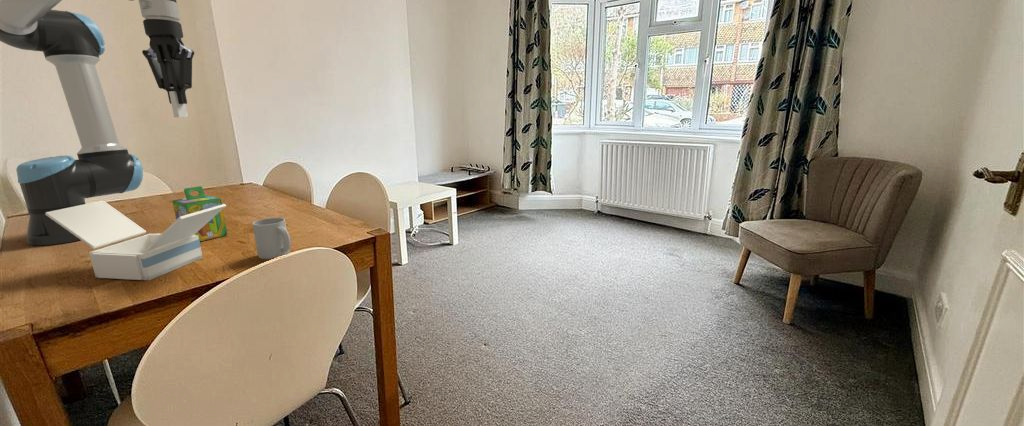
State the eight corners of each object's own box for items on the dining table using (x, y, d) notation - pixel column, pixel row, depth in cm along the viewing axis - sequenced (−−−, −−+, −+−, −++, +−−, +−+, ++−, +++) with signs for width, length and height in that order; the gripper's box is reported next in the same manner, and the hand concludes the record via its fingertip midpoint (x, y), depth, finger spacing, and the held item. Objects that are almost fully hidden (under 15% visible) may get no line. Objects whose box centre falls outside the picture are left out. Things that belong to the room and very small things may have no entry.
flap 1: (93, 248, 95) (45, 214, 95) (145, 233, 107) (102, 202, 106) (94, 246, 95) (45, 212, 95) (146, 231, 107) (103, 200, 106)
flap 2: (144, 249, 93) (179, 216, 90) (192, 233, 105) (224, 203, 101) (146, 251, 93) (181, 219, 90) (193, 234, 105) (226, 205, 101)
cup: (277, 248, 114) (272, 216, 112) (303, 253, 110) (299, 220, 108) (251, 257, 108) (245, 223, 105) (278, 262, 103) (273, 227, 101)
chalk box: (193, 244, 118) (182, 192, 115) (178, 239, 123) (167, 188, 120) (229, 235, 126) (220, 186, 122) (214, 231, 131) (204, 183, 127)
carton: (92, 278, 95) (85, 253, 94) (157, 254, 110) (152, 232, 109) (146, 281, 93) (140, 255, 92) (205, 257, 108) (200, 234, 107)
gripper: (124, 18, 104) (146, 117, 110) (170, 16, 102) (190, 117, 108) (153, 24, 111) (172, 116, 117) (197, 22, 109) (214, 116, 115)
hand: (181, 117), depth 112 cm, fingers closed
